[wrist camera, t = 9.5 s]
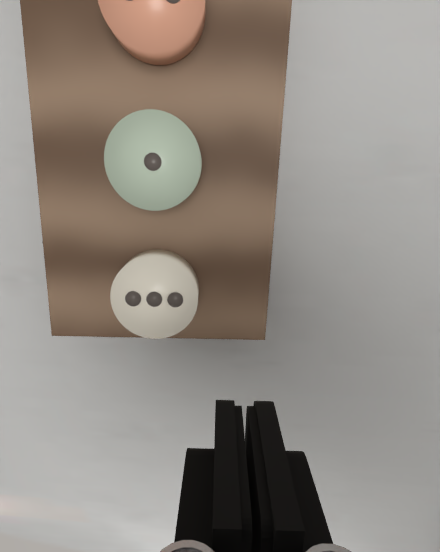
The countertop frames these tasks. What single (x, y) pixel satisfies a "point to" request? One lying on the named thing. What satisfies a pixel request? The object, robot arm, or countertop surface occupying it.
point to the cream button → (155, 294)
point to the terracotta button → (155, 27)
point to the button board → (212, 143)
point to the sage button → (152, 159)
